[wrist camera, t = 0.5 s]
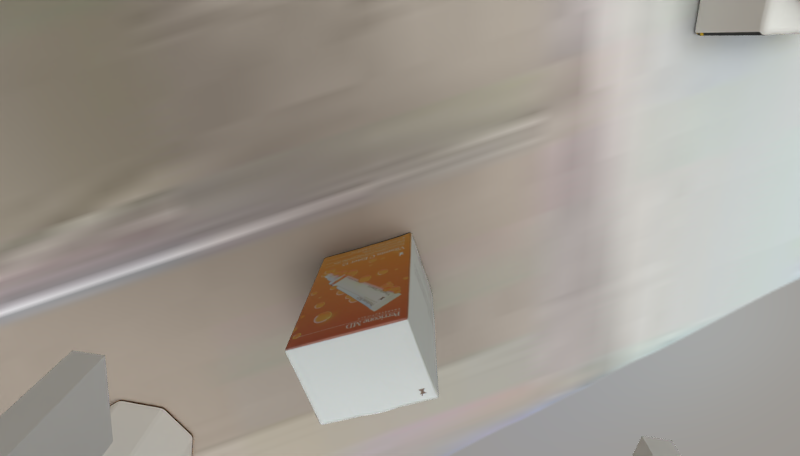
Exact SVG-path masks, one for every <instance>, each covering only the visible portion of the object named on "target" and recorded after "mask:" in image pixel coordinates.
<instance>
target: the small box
mask: <svg viewBox="0 0 800 456" xmlns="http://www.w3.org/2000/svg"><path fill="white" fill-rule="evenodd" d="M285 353H286V355H287V357H288V359H289V361H290V363H291V365H292V367H293V369H294V371H295V373H296V375H297V377H298V379H299V381H300V383H301V385H302V387H303V389H304V391H305V393H306V395H307V397H308V400H309V402H310V404H311V406H312V408H313V410H314V412H315V414H316V416H317V418H318V421H319V423H320V424H328V423H333V422H338V421H342V420H347V419H351V418H356V417H360V416H366V415H372V414H378V413H382V412H386V411H389V410H393V409H396V408H399V407H403V406H407V405H411V404H415V403H419V402H423V401H427V400H431V399H436V398H438V397H439V392H438V376H437V360H436V342H435V322H434V310H433V296H432V291H431V289H430V286H429V283H428V280H427V277H426V274H425V271H424V268H423V265H422V262H421V259H420V256H419V253H418V250H417V247H416V244H415V242H414V239H413V236H412V233H408V234H405V235H403V236H400V237H397V238H393V239H390V240H387V241H384V242H380V243H377V244H373V245H370V246H367V247H363V248H360V249H356V250H353V251H349V252H346V253H342V254H338V255H334V256H331V257H327V258H325V259H324V260H323V263H322V265H321V267H320V270H319V272H318V274H317V277H316V279H315V281H314V284H313V286H312V288H311V291H310V293H309V295H308V298H307V300H306V302H305V305H304V307H303V309H302V312H301V314H300V316H299V319H298V321H297V323H296V326H295V328H294V330H293V333H292V335H291V337H290V340H289V342H288V344H287V347H286V349H285Z"/></svg>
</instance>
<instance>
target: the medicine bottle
mask: <svg viewBox="0 0 800 456" xmlns="http://www.w3.org/2000/svg"><path fill="white" fill-rule="evenodd" d="M695 33H696V34H697V35H700V36H707V35H777V34H795V33H800V0H700V5H699V11H698V16H697V22H696V28H695Z"/></svg>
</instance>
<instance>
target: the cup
mask: <svg viewBox="0 0 800 456" xmlns="http://www.w3.org/2000/svg"><path fill="white" fill-rule="evenodd" d="M110 414H111V424H112V435H113V442H112V444H111V445H110V446H109V448H108V449H107V450H106V452H105V453H104V454H103V456H192V436H191V435H190V434H189V433H188V432H187V431H186V430H185V429H184V428H183V427H182V426H181V425H180V424H179V423H178V422H177V421H176V420H175V419H174V418H173V417H171V416H170V415H169V414H168V413H167V412H166V411H165V410H164V409H162V408H157V407H152V406H146V405H141V404H135V403H130V402H124V401H118V402H116V403H115V404H113V405H111V406H110Z"/></svg>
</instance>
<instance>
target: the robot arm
mask: <svg viewBox="0 0 800 456" xmlns="http://www.w3.org/2000/svg"><path fill="white" fill-rule="evenodd" d="M112 442H113V435H112V424H111V414H110V403H109V393H108V382H107V371H106V361H105V355H99V354H92V353H85V352H79V351H71V352H70V353H69V354H68V355H67V356H66V357H65V358H64V359H62V360H61V361H60V362H59V363H58V364H57V365H56V366H55V367H54V368H53V369H52V370H50V371H49V372H48V373H47V374H46V375H45V376H44V377H43V378H42V379H41V380H39V381H38V382H37V383H36V384H35V385H34V386H33V387H32V388H31V389H30V390H29V391H27V392H26V393H25V394H24V395H23V396H22V397H21V398H20V399H19V400H18V401H16V402H15V403H14V404H13V405H12V406H11V407H10V408H9V409H8V410H7V411H6V412H4V413H3V414H2V415H1V416H0V456H103V454H104V453H105V452H106V450H107V449H108V448H109V446H110V445H111V444H112ZM633 456H682V455H681V454H680V452H679V451H678V449H677V448H676V446H675V444H674V443H673V441H672V440H666V439H660V438H653V437H646V436H642V437H641V439H640V441H639V443H638V445H637V448H636V450H635V451H634V453H633Z"/></svg>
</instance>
